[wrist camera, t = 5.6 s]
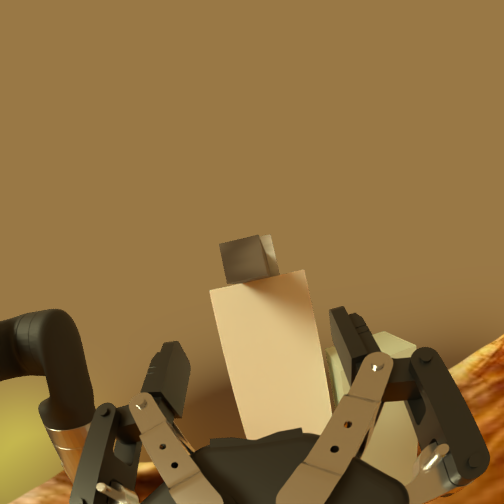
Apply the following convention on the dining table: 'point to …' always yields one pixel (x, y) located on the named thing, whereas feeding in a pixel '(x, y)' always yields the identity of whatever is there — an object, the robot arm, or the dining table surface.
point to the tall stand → (273, 354)
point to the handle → (249, 259)
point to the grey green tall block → (383, 416)
